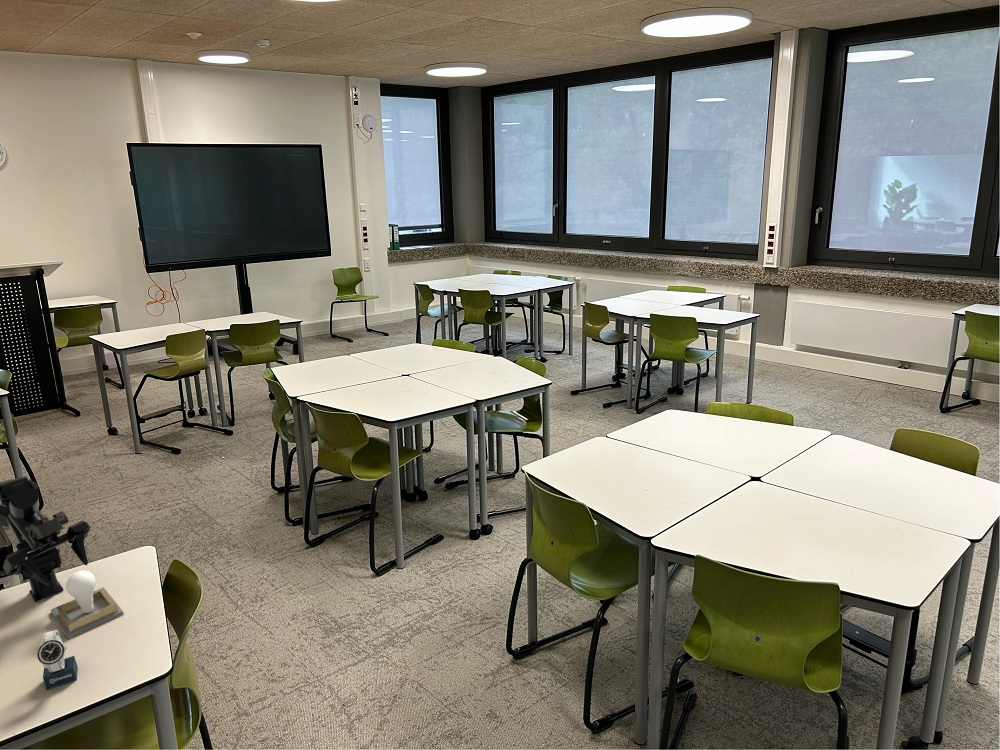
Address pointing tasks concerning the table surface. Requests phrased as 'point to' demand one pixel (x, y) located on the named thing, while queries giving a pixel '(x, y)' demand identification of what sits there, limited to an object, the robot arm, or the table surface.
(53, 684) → the watch
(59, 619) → the socket plate
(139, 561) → the table surface
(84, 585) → the lightbulb
